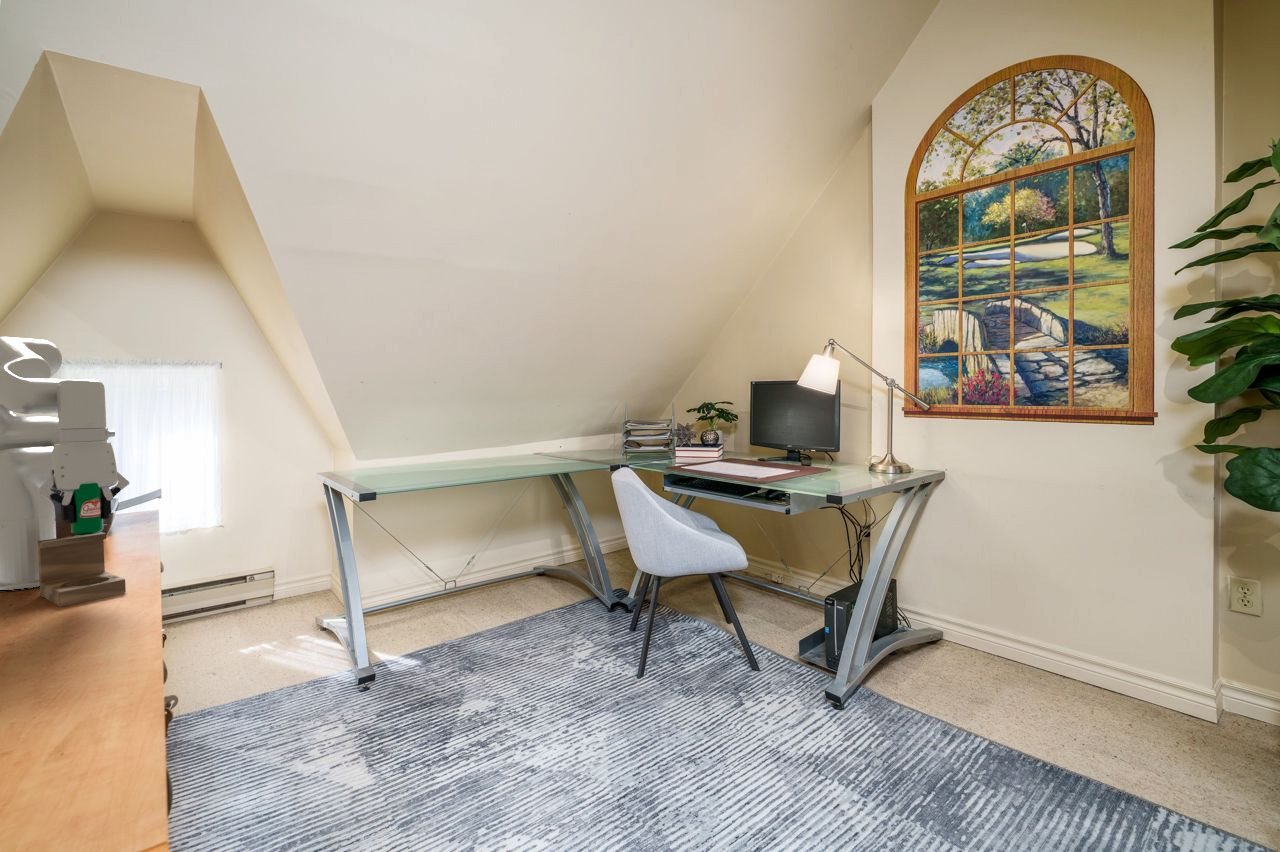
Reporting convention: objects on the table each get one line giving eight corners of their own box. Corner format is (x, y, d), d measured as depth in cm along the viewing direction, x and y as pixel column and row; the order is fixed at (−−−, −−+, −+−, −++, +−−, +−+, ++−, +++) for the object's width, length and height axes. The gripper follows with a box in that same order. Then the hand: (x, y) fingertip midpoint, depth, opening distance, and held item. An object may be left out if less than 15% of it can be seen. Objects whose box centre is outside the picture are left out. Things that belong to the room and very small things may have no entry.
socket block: (40, 595, 128) (37, 541, 128) (102, 583, 137) (100, 531, 137) (61, 606, 121) (58, 548, 121) (125, 592, 130) (123, 538, 130)
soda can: (83, 536, 125) (81, 479, 124) (65, 535, 126) (62, 479, 125) (109, 531, 130) (107, 476, 129) (91, 530, 131) (88, 476, 130)
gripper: (126, 434, 136) (129, 512, 137) (22, 438, 122) (26, 526, 122) (139, 435, 132) (143, 515, 133) (33, 439, 118) (37, 529, 118)
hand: (87, 519), depth 128 cm, fingers closed on soda can, 5 cm apart
